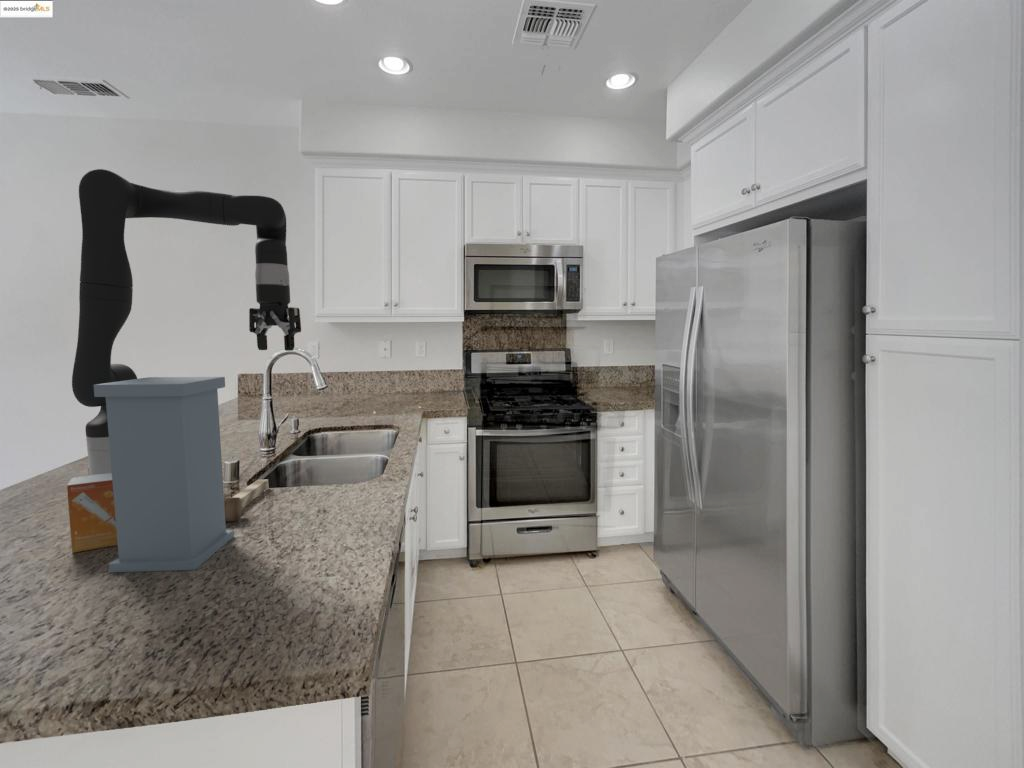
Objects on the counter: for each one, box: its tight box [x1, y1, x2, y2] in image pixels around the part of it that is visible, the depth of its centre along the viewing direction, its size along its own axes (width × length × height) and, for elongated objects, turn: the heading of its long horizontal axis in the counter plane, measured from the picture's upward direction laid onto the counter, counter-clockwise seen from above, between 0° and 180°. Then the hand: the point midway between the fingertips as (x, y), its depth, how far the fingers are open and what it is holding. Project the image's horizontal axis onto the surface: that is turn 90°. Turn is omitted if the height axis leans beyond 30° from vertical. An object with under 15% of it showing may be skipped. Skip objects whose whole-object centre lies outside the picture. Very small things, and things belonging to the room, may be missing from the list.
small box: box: [66, 473, 118, 554], centre depth 98 cm, size 8×6×13 cm
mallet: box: [224, 478, 270, 523], centre depth 120 cm, size 25×7×5 cm, turn 4°
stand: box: [94, 376, 235, 573], centre depth 92 cm, size 14×14×32 cm
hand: (276, 350), depth 126 cm, fingers open, 8 cm apart
